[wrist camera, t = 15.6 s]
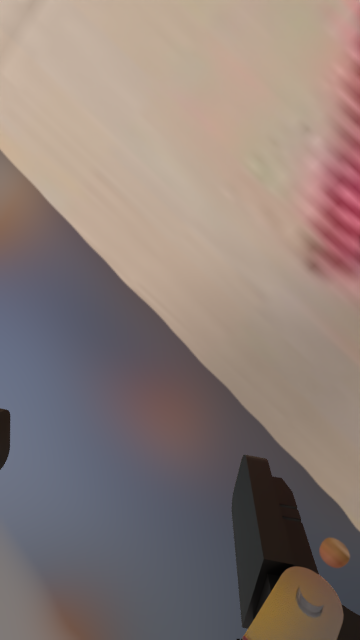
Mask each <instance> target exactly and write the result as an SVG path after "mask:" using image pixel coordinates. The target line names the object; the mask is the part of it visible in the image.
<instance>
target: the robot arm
mask: <svg viewBox="0 0 360 640" xmlns="http://www.w3.org/2000/svg"><path fill="white" fill-rule="evenodd" d="M9 450H10V412H9V411H8V410H5V409H0V469H1V468H2V467H3V465H4V464H5V462H6V460H7V457H8V454H9ZM232 519H233V529H234V541H235V552H236V563H237V574H238V584H239V597H240V608H241V619H242V627H243V628H248V630H247V632H246V633H245V635H244V636H243V638H242V639H241V640H360V616H359V615H357V614H355V613H353V612H352V611H350V610H349V609H347V608H346V607H345V606H343V605H342V604H341V602H340V600H339V597H338V595H337V594H336V592H335V591H334V589H333V588H332V587H331V585H330V584H329V583H328V582H327V581H326V580H325V579H323V578H322V577H321V576H320V575H319V573H318V571H317V567H316V564H315V561H314V558H313V556H312V552H311V549H310V546H309V543H308V540H307V536H306V534H305V530H304V527H303V524H302V523H301V518H300V515H299V511H298V510H297V505H296V502H295V499H294V496H293V493H292V491H291V490H290V489H289V487H288V486H287V485H286V483H285V482H284V481H283V479H282V478H277V477H272V475H271V471H270V468H269V463H268V460H267V459H265V458H260V457H254V456H249V455H243V458H242V461H241V464H240V468H239V472H238V476H237V480H236V484H235V488H234V492H233V498H232ZM237 640H240V639H237Z"/></svg>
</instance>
